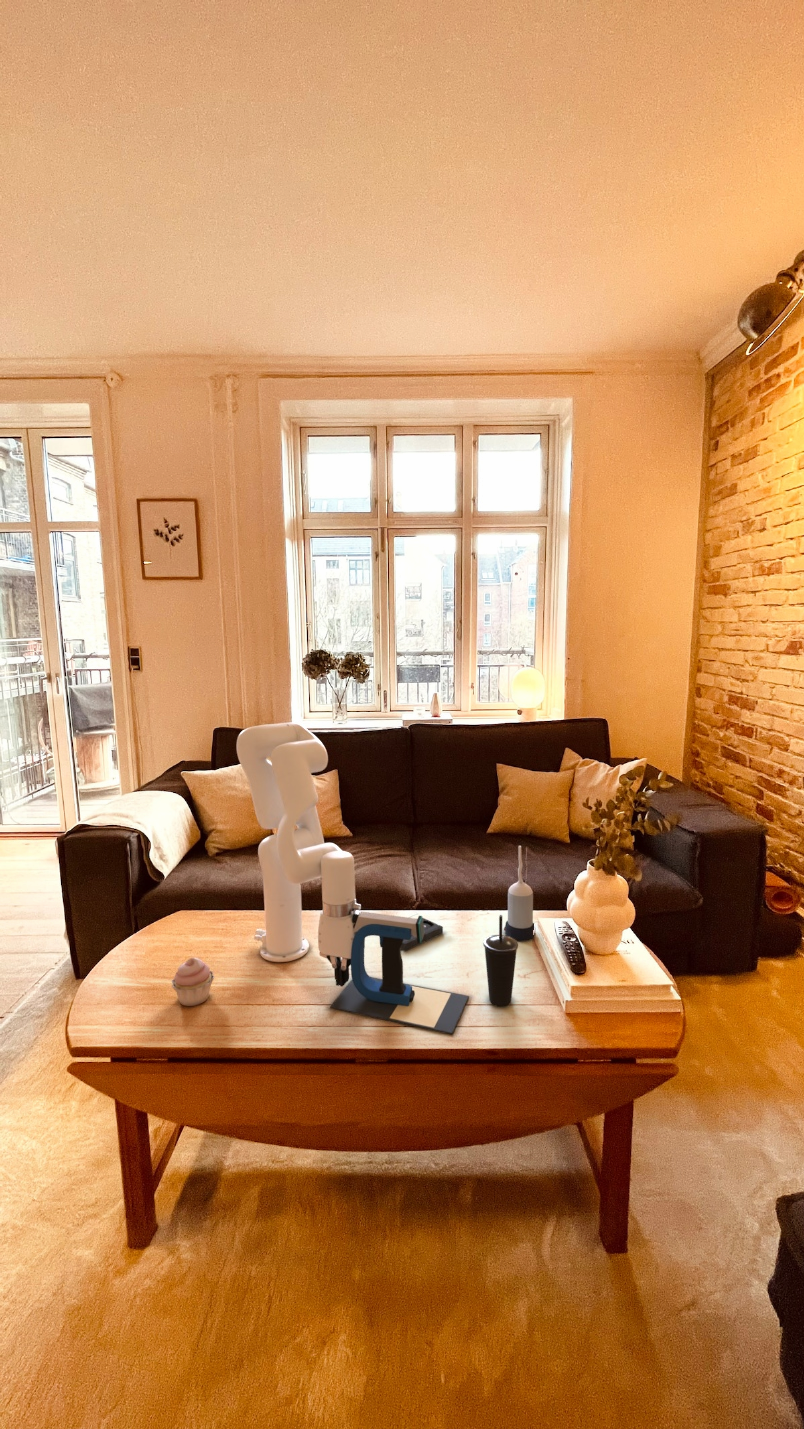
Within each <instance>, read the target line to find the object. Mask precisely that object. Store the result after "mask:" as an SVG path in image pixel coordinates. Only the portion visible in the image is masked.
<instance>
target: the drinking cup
mask: <svg viewBox="0 0 804 1429" xmlns="http://www.w3.org/2000/svg"><path fill="white" fill-rule="evenodd" d="M498 916H499V917H498V925H499V926H498V934H493V935H489V936H487V937H485V938H484V939H483V941H482V944H483V947H484V955H485V967H486V975H487V976H486V977H487V978H486V979H487V989H488V1001H489V1003H490V1004H491V1005H493V1006H494V1007H499V1008H505V1007H508V1006H510V1005H511V1003H512V999H513V998H512V997H513V988H514V987H513V986H514V978H515V970H516V969H515V968H516V960H517V950H518V948H519V941H516V940H515V939H513V938H511V937H509V936H506V934H505V935H504V934H503V915H502V914H499V915H498Z"/></svg>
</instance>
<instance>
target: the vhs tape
mask: <svg viewBox="0 0 804 1429" xmlns="http://www.w3.org/2000/svg"><path fill="white" fill-rule="evenodd" d="M422 918H423V924H424V936H423V939H422V941H421V943H417V938H416V937H415V936H413V935H412V936H411V939H410V940H406V939H404V940H403V943H402V945H401V951H404V952H406V951H407V952H408V951H409V950H410V949H414V947H418V946H419V945H421V944H424V943H425V942H426V943H427V941H430V940H432V939H434V938H436V937H438V936H440V935H443V934H444V927H443V926H442V925H440V924H438V923H435V922H433V921H431V920H429V919H427V918H424V917H422Z"/></svg>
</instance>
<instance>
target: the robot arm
mask: <svg viewBox="0 0 804 1429" xmlns="http://www.w3.org/2000/svg"><path fill="white" fill-rule="evenodd" d="M236 754H237V758H238V761H239V763H240V766H241V768H242V770H243V772H244V774H245V776H246V778H247V782H248V785H249V790H250V794H251V799H252V803H253V808H254V812H255V817H256V820H257V823H258V825H259V826H260V828H261V829H263V830H274V829H277V832H276V833H274V834H272V835H268V836H266V837H265V838H264V839H262V840H261V841H260V843H259V845H258V849H257V854H258V861H259V865H260V869H261V874H262V884H263V886H262V887H263V903H264V928H265V929H260V928H256V930H255V932H254V938H253V940H254V941H257V942H261V943H262V944H261V946H260V948H259V953H260V956H261V957H262V959H264V960H266V961H268V962H273V963H285V962H291V961H295V960H298V959H300V958H302V957H304V956H305V955H306V954H307V953H308V951H309V950H310V944H309V941H308V940H307V939H306V938H305V937H303V912H302V911H303V906H302V886H301V884H305V883H308V882H311V881H314V880H317V879H321V896H322V897H321V898H322V899H321V901H322V910H321V911H320V915H319V920H318V929H317V930H318V931H317V947H318V951H319V956H320V957H321V958H324V959H327V960H328V962H329V963H330V964H331V967H332V969H334V970H333V971H334V980H335V986H336V987H341V988H342V987H344V986H345V985H346V983H347V982H349V980H350V967H351V949H352V942H353V939H354V936H355V934H356V933H357V932H353V931H354V928H353V925H354V924H355V923H352V916H353V914H359V915H360V913H361V909H362V904H361V903H357V898H356V874H355V873H356V872H355V871H356V870H355V858H354V856H353V854H352V853H350V852H348V851H345V850H343V849H341V848H340V847H339V846H338V845H337V844H335V843H333V842H325V839H324V835H323V829H322V826H321V821H320V817H319V814H318V808H317V804H318V802H319V798H320V797H319V795H318V792H317V788H316V785H315V782H314V779H313V776H312V774H313V773H318V772H322V771H323V770H325V769H326V768H327V766H328V763H329V755H328V752H327V749H326V747H325V745H324V744H323V742H322V741H321V740H320V739H319V738H318V737H317V736H316V735H315V734H314V733H312V732H311V731H310V730H308V729H307V728H306V727H305V726H303V725H302V724H300V723H298V722H293V721H292V722H291V721H290V722H280V723H279V722H278V723H269V724H259V725H253V726H250V727H247V728H245V729H243V730H242V731H241V732H240V733H239V734H238V736H237V739H236ZM267 758H270V760H269V759H267ZM295 828H296V829H295ZM365 945H366V944H365ZM365 945H364V949H365V948H366V946H365Z"/></svg>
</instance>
